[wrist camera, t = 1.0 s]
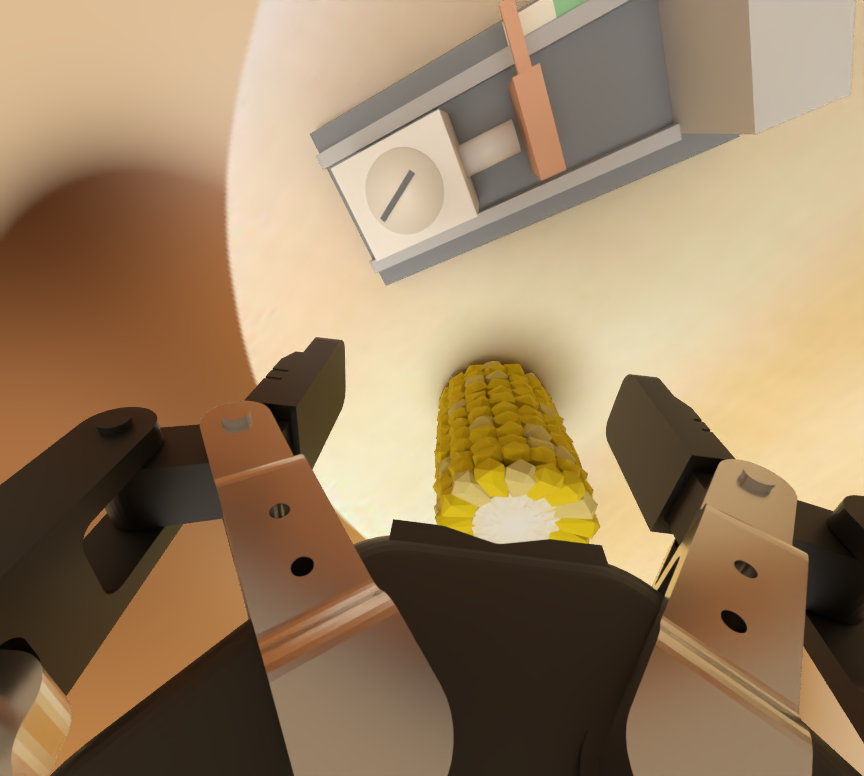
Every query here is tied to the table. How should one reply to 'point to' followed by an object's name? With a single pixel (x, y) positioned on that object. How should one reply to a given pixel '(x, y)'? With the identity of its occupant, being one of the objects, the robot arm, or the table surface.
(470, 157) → the gauge housing
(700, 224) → the table surface
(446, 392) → the food
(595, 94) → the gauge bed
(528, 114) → the brown slider plate
